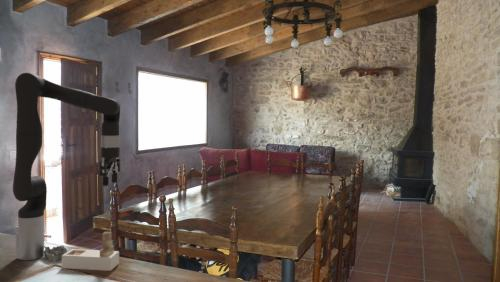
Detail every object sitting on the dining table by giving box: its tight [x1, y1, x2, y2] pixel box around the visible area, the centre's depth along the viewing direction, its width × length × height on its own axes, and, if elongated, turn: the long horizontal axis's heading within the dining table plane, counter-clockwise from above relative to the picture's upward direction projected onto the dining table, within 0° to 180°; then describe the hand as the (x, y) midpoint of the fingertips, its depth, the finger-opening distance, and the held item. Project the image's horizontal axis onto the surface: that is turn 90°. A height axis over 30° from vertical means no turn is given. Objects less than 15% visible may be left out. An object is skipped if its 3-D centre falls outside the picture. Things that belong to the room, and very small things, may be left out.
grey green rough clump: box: [43, 245, 68, 262], centre depth 158 cm, size 11×8×4 cm
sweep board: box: [61, 248, 120, 272], centre depth 149 cm, size 20×8×5 cm, turn 85°
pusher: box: [100, 231, 115, 257], centre depth 148 cm, size 3×6×8 cm, turn 176°
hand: (110, 184), depth 162 cm, fingers open, 8 cm apart
